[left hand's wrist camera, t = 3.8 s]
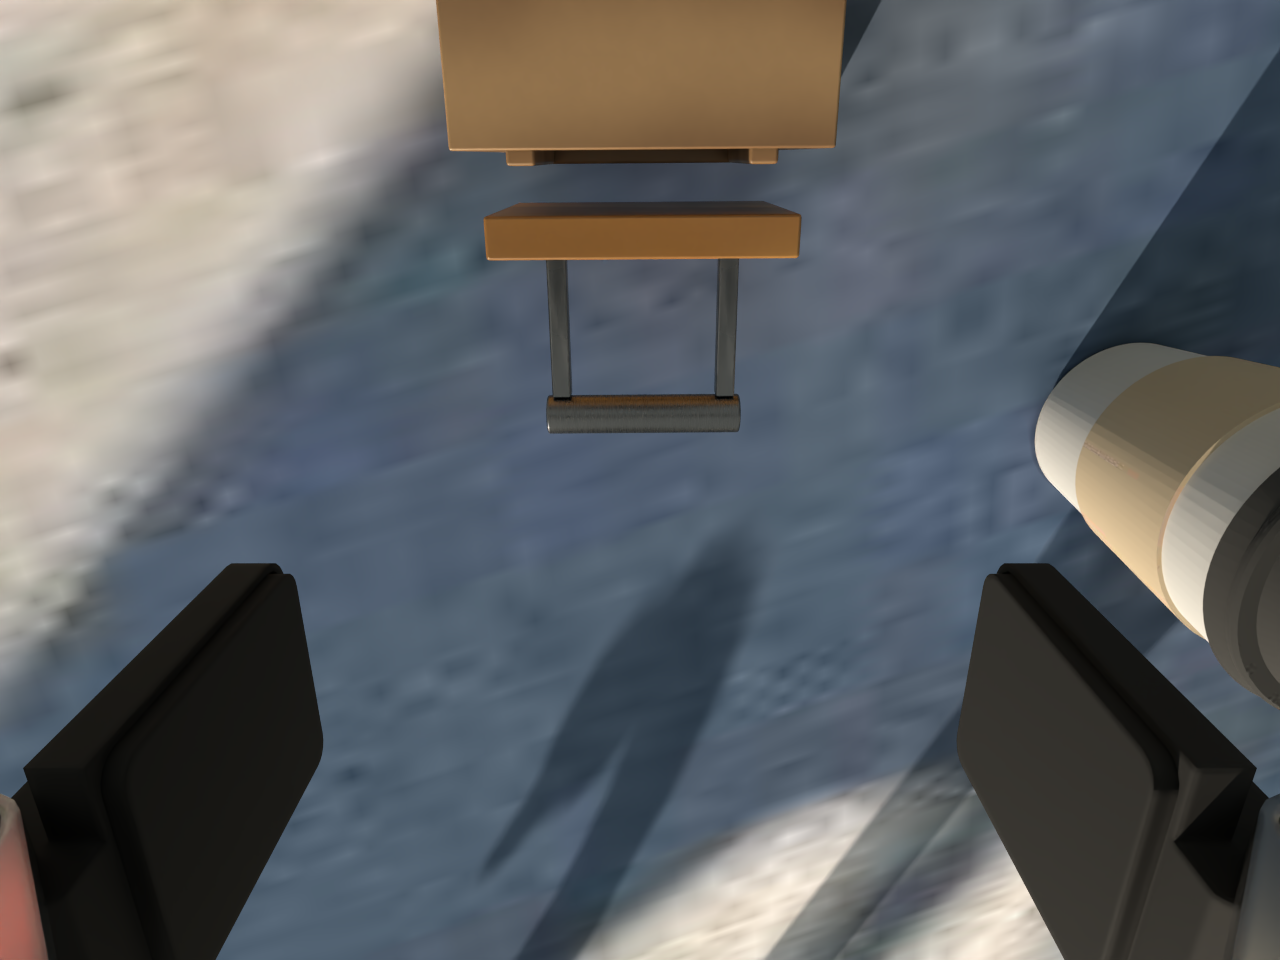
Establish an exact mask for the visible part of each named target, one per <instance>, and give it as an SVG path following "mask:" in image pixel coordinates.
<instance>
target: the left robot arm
mask: <svg viewBox="0 0 1280 960" xmlns="http://www.w3.org/2000/svg"><path fill="white" fill-rule="evenodd" d="M322 750H323V733H322V727H321V722H320V716H319V710H318V704H317V699H316V693H315V687H314V682H313V676H312V670H311V665H310V659H309V653H308V647H307V642H306V636H305V630H304V625H303V619H302V613H301V608H300V602H299V596H298V591H297V585H296V582H295V579H294V577H293V576H292V575H291V574H283V572H282V570H281V568H280V566H278V565H277V564H276V563H233V564H230V565H228V566H227V567H226V568H225V569H224V570H223V571H222V572H221V573H220V574H219V575H218V576H217V577H216V578H215V579H214V580H213V581H212V582H211V583H210V584H209V585H208V586H207V587H206V588H205V589H204V590H203V591H202V592H201V593H200V594H198V595H197V596H196V597H195V598H194V599H193V600H192V601H191V602H190V603H189V604H188V605H187V606H186V607H185V608H184V609H183V610H182V611H181V612H180V613H179V614H178V615H177V616H176V617H175V618H174V619H173V620H172V621H171V622H170V623H169V624H168V625H167V626H166V627H165V628H164V629H163V630H162V631H161V632H160V633H159V634H158V635H157V636H156V637H155V638H154V639H153V640H152V641H151V642H150V643H149V644H148V645H147V646H146V647H145V648H144V649H143V650H142V651H141V652H140V653H139V654H138V655H137V656H136V657H135V658H134V659H133V660H132V661H131V662H130V663H129V664H128V665H127V666H126V667H125V668H124V669H123V670H122V671H121V672H120V673H119V674H118V675H117V676H116V677H115V678H114V679H113V680H112V681H111V682H110V683H109V684H108V685H107V686H106V687H105V688H104V689H103V690H102V691H101V692H100V693H99V694H98V695H97V696H96V697H95V698H94V699H92V700H91V701H90V702H89V703H88V704H87V705H86V706H85V707H84V708H83V709H82V710H81V711H80V712H79V713H78V714H77V715H76V716H75V717H74V718H73V719H72V720H71V721H70V722H69V723H68V724H67V725H66V726H65V727H64V728H63V729H62V730H61V731H60V732H59V733H58V734H57V735H56V736H55V737H54V738H53V739H52V740H51V741H50V742H49V743H48V744H47V745H46V746H45V747H44V748H43V749H42V750H41V751H40V752H39V753H38V754H37V755H36V756H35V757H34V758H33V759H32V760H31V761H30V762H29V763H28V764H27V765H26V766H25V767H24V768H23V769H24V772H25V775H26V778H27V782H26V783H25V784H24V785H23V786H22V787H21V789H20V790H19V791H18V792H17V793H16V794H15V795H14V796H13V797H12V798H9V797H7V796H4V795H2V794H0V960H216V958H217V956H218V954H219V952H220V950H221V948H222V946H223V944H224V943H225V941H226V939H227V937H228V935H229V933H230V931H231V929H232V927H233V926H234V924H235V922H236V920H237V918H238V916H239V914H240V912H241V910H242V909H243V907H244V905H245V903H246V901H247V899H248V897H249V895H250V893H251V892H252V890H253V888H254V886H255V884H256V882H257V880H258V878H259V876H260V875H261V873H262V871H263V869H264V867H265V865H266V863H267V861H268V859H269V858H270V856H271V854H272V852H273V850H274V848H275V846H276V844H277V842H278V841H279V839H280V837H281V835H282V833H283V831H284V829H285V827H286V825H287V823H288V822H289V820H290V818H291V816H292V814H293V812H294V810H295V808H296V806H297V805H298V803H299V801H300V799H301V797H302V795H303V793H304V791H305V789H306V788H307V786H308V784H309V782H310V780H311V778H312V776H313V774H314V772H315V771H316V769H317V767H318V765H319V762H320V759H321V756H322ZM957 750H958V756H959V759H960V762H961V765H962V767H963V769H964V771H965V772H966V774H967V776H968V778H969V780H970V782H971V784H972V786H973V788H974V789H975V791H976V793H977V795H978V797H979V799H980V801H981V803H982V805H983V806H984V808H985V810H986V812H987V814H988V816H989V818H990V820H991V822H992V823H993V825H994V827H995V829H996V831H997V833H998V835H999V837H1000V839H1001V841H1002V842H1003V844H1004V846H1005V848H1006V850H1007V852H1008V854H1009V856H1010V858H1011V859H1012V861H1013V863H1014V865H1015V867H1016V869H1017V871H1018V873H1019V875H1020V876H1021V878H1022V880H1023V882H1024V884H1025V886H1026V888H1027V890H1028V892H1029V893H1030V895H1031V897H1032V899H1033V901H1034V903H1035V905H1036V907H1037V909H1038V910H1039V912H1040V914H1041V916H1042V918H1043V920H1044V922H1045V924H1046V926H1047V927H1048V929H1049V931H1050V933H1051V935H1052V937H1053V939H1054V941H1055V943H1056V944H1057V946H1058V948H1059V950H1060V952H1061V954H1062V956H1063V958H1064V960H1280V794H1278V795H1276V796H1273V797H1271V798H1268V797H1267V796H1266V795H1265V794H1264V793H1263V792H1262V791H1261V790H1260V789H1259V787H1258V786H1257V785H1256V784H1255V783H1254V782H1253V778H1254V775H1255V772H1256V769H1257V768H1256V767H1255V766H1254V765H1253V764H1252V763H1251V762H1250V761H1249V760H1248V759H1247V758H1246V757H1245V756H1244V755H1243V754H1242V753H1241V752H1240V751H1239V750H1238V749H1237V748H1236V747H1235V746H1234V745H1233V744H1232V743H1231V742H1230V741H1229V740H1228V739H1227V738H1226V737H1225V736H1224V735H1223V734H1222V733H1221V732H1220V731H1219V730H1218V729H1217V728H1216V727H1215V726H1214V725H1213V724H1212V723H1211V722H1210V721H1209V720H1208V719H1207V718H1206V717H1205V716H1204V715H1203V714H1202V713H1201V712H1200V711H1199V710H1198V709H1197V708H1196V707H1195V706H1194V705H1193V704H1192V703H1191V702H1190V701H1189V700H1188V699H1186V698H1185V697H1184V696H1183V695H1182V694H1181V693H1180V692H1179V691H1178V690H1177V689H1176V688H1175V687H1174V686H1173V685H1172V684H1171V683H1170V682H1169V681H1168V680H1167V679H1166V678H1165V677H1164V676H1163V675H1162V674H1161V673H1160V672H1159V671H1158V670H1157V669H1156V668H1155V667H1154V666H1153V665H1152V664H1151V663H1150V662H1149V661H1148V660H1147V659H1146V658H1145V657H1144V656H1143V655H1142V654H1141V653H1140V652H1139V651H1138V650H1137V649H1136V648H1135V647H1134V646H1133V645H1132V644H1131V643H1130V642H1129V641H1128V640H1127V639H1126V638H1125V637H1124V636H1123V635H1122V634H1121V633H1120V632H1119V631H1118V630H1117V629H1116V628H1115V627H1114V626H1113V625H1112V624H1111V623H1110V622H1109V621H1108V620H1107V619H1106V618H1105V617H1104V616H1103V615H1102V614H1101V613H1100V612H1099V611H1098V610H1097V609H1096V608H1095V607H1094V606H1093V605H1092V604H1091V603H1090V602H1089V601H1088V600H1087V599H1086V598H1085V597H1084V596H1083V595H1082V594H1080V593H1079V592H1078V591H1077V590H1076V589H1075V588H1074V587H1073V586H1072V585H1071V584H1070V583H1069V582H1068V581H1067V580H1066V579H1065V578H1064V577H1063V576H1062V575H1061V574H1060V573H1059V572H1058V571H1057V570H1056V569H1055V568H1054V567H1053V566H1052V565H1050V564H1047V563H1004V564H1003V565H1002V566H1000V568H999V570H998V572H997V574H989V575H988V576H987V577H986V579H985V582H984V585H983V591H982V596H981V602H980V608H979V613H978V619H977V625H976V630H975V636H974V642H973V647H972V653H971V659H970V665H969V670H968V676H967V682H966V687H965V693H964V699H963V704H962V710H961V716H960V722H959V727H958V733H957Z"/></svg>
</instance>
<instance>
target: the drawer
mask: <svg viewBox="0 0 1280 960" xmlns="http://www.w3.org/2000/svg"><path fill="white" fill-rule="evenodd" d="M778 150H779V148H766V149H639V150H513V151H506V163H507V165H509V166H535V165H545V164H593V163H719V162H731V163H746V164H775V163H777V161H778ZM801 218H802V217H801V215H800V214H798V213H795V212H792V211H789V210H787V209H784V208H781V207H778V206H775V205H773V204H770V203H767V202H764V201H710V202H583V203H519V204H516V205H514V206H511V207H509V208H506V209H504V210H501V211H499V212H496V213H494V214H491V215H489V216H486V217H484V232H485V245H486V257H487V259H488V260H546V267H547V288H548V308H549V329H550V350H551V370H552V391H553V395H550V396H548V398H547V407H546V418H547V429H548V432H549V433H679V432H738V431H739V428H740V417H741V408H740V398H739V395H738V394H734V380H735V352H736V325H737V297H738V270H739V258H797V257H798V256H799V249H800V234H801ZM595 259H718V273H717V310H716V346H715V383H714V392H715V394H661V395H571V394H572V374H571V349H570V323H569V298H568V272H567V260H595Z"/></svg>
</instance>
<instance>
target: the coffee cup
mask: <svg viewBox="0 0 1280 960" xmlns="http://www.w3.org/2000/svg"><path fill="white" fill-rule="evenodd" d="M1035 450H1036V456H1037V459H1038V462H1039V465H1040V467H1041V469H1042V471H1043V473H1044V475H1045V476H1046V477H1047V479H1048V480H1049V481H1050V482H1051V483H1052V484H1053V485H1054V486H1055V487H1056V488H1057V489H1058V490H1059V491H1060V492H1061V493H1062V494H1063V495H1064V496H1065V497H1066V498H1067V499H1068V500H1069V501H1070V502H1071V503H1072V504H1073V506H1074V507H1075V508H1076V509H1077V510H1078V511H1079V512H1080V513H1081V514H1082V515H1083V517H1084V519H1085V521H1086V522H1087V524H1088V525H1089V527H1090V528H1091V529H1092V530H1093V531H1094V533H1095V534H1096V535H1097V536H1098V537H1099V538H1100V539H1101V540H1102V541H1103V542H1104V543H1105V544H1106V545H1107V546H1108V547H1109V548H1110V549H1111V550H1112V551H1113V552H1114V553H1115V554H1116V555H1117V556H1118V557H1119V558H1120V559H1121V560H1122V561H1123V562H1124V563H1125V564H1126V565H1127V566H1128V567H1129V568H1130V569H1131V570H1132V572H1133V573H1134V574H1135V575H1136V576H1137V577H1138V578H1139V579H1140V580H1141V581H1142V582H1143V583H1144V584H1145V585H1146V586H1147V587H1148V588H1149V589H1150V590H1151V591H1152V592H1153V593H1154V594H1155V595H1156V596H1157V597H1158V598H1159V599H1160V600H1161V601H1162V602H1163V603H1164V604H1165V605H1166V606H1167V607H1168V608H1169V609H1170V611H1171V612H1172V613H1173V614H1174V615H1175V616H1176V617H1177V618H1178V619H1179V620H1180V621H1181V622H1182V623H1183V624H1184V625H1185V626H1187V627H1188V628H1189V629H1190V630H1191V631H1193V632H1194V633H1196V634H1197V635H1199V636H1200V637H1202V638H1204V639H1206V640H1207V641H1208V642H1209V644H1210V646H1211V649H1212V651H1213V653H1214V655H1215V656H1216V658H1217V660H1218V661H1219V663H1220V664H1221V666H1222V667H1223V668H1224V669H1225V671H1226V672H1227V673H1228V674H1229V675H1230V676H1231V677H1232V678H1233V679H1234V680H1235V681H1236V682H1238V683H1239V684H1240V685H1241V686H1243V687H1244V688H1246V689H1247V690H1249V691H1250V692H1252V693H1254V694H1256V695H1258V696H1260V697H1261V698H1262V699H1263V700H1265V701H1266V702H1267V703H1269V704H1270V705H1272V706H1274V707H1275V708H1277V709H1279V710H1280V368H1279V367H1275V366H1270V365H1266V364H1261V363H1257V362H1252V361H1247V360H1243V359H1238V358H1233V357H1226V356H1206V355H1201V354H1197V353H1193V352H1188V351H1184V350H1180V349H1175V348H1171V347H1167V346H1162V345H1158V344H1152V343H1130V344H1123V345H1119V346H1115V347H1112V348H1109V349H1106V350H1103V351H1101V352H1099V353H1097V354H1095V355H1093V356H1091V357H1089V358H1087V359H1086V360H1084V361H1083V362H1081V363H1080V364H1078V365H1077V366H1076V367H1074V368H1073V369H1072V370H1071V371H1070V372H1069V373H1067V374H1066V375H1065V376H1064V377H1063V378H1062V380H1061V381H1060V382H1059V383H1058V384H1057V385H1056V387H1055V388H1054V389H1053V391H1052V392H1051V393H1050V395H1049V397H1048V398H1047V400H1046V402H1045V404H1044V406H1043V408H1042V410H1041V413H1040V415H1039V418H1038V422H1037V426H1036V432H1035Z"/></svg>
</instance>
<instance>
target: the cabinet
mask: <svg viewBox="0 0 1280 960" xmlns="http://www.w3.org/2000/svg"><path fill="white" fill-rule="evenodd" d="M846 2H847V0H436V5H437V17H438V28H439V40H440V51H441V63H442V74H443V86H444V97H445V109H446V120H447V132H448V143H449V149H450V150H451V151H477V152H506V151H513V150H639V149H766V148H779V150H792V149H816V148H833V147H835V145H836V135H837V121H838V108H839V95H840V81H841V68H842V55H843V42H844V28H845V15H846Z"/></svg>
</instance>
